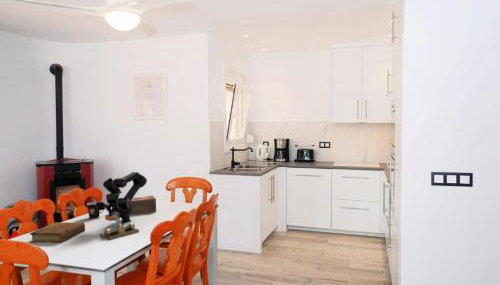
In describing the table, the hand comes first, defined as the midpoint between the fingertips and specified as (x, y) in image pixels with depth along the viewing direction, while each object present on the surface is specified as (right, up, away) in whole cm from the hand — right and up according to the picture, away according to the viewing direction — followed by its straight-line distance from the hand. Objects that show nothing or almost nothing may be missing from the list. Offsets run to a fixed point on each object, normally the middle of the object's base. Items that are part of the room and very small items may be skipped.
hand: (110, 217), depth 224 cm
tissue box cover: (+1, -6, +51) cm, 51 cm away
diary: (-25, -9, -10) cm, 29 cm away
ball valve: (+9, -8, -8) cm, 14 cm away
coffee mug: (-23, -7, +34) cm, 41 cm away
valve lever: (+4, -1, -5) cm, 6 cm away
